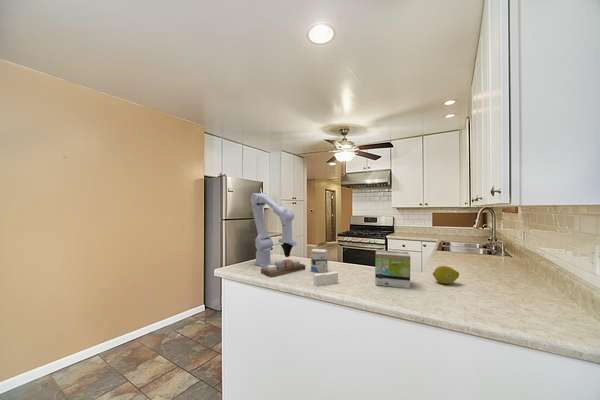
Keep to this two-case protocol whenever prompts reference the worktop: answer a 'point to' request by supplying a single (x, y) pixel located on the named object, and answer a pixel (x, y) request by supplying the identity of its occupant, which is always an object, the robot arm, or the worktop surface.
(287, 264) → the terracotta key
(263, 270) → the brown wooden long tray
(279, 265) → the grey key
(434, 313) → the worktop surface
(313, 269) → the ink box
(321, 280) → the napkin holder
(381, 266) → the tea box
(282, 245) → the robot arm
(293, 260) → the pale green block
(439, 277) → the lemon
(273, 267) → the white key
